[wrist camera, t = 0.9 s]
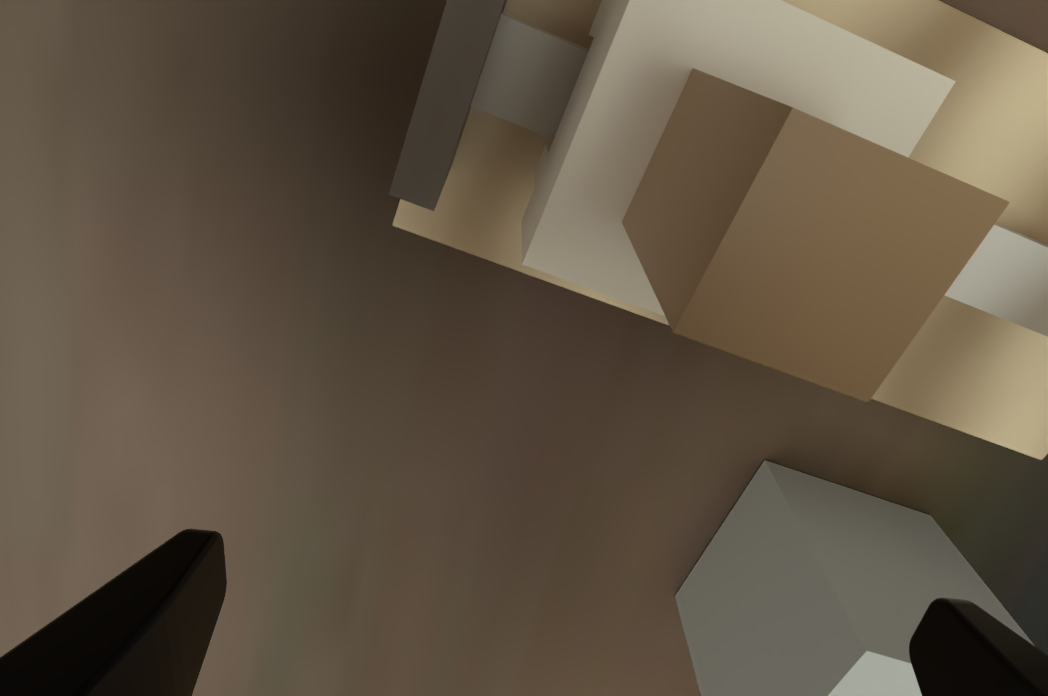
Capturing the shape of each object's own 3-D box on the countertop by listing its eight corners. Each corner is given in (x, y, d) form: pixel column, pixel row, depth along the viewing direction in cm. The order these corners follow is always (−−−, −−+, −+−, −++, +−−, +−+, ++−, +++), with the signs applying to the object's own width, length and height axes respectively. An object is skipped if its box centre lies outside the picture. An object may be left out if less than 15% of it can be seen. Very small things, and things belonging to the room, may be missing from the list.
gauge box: (930, 515, 26) (1090, 715, 18) (827, 640, 29) (930, 854, 21) (764, 459, 24) (866, 650, 17) (674, 596, 27) (730, 807, 20)
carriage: (852, 61, 16) (1202, 126, 8) (728, 285, 19) (896, 512, 10) (619, -45, 15) (741, -96, 7) (521, 206, 18) (524, 389, 9)
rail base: (1240, 161, 20) (1479, 214, 15) (1012, 434, 24) (1139, 546, 19) (524, -184, 16) (526, -265, 11) (400, 210, 20) (362, 278, 15)
